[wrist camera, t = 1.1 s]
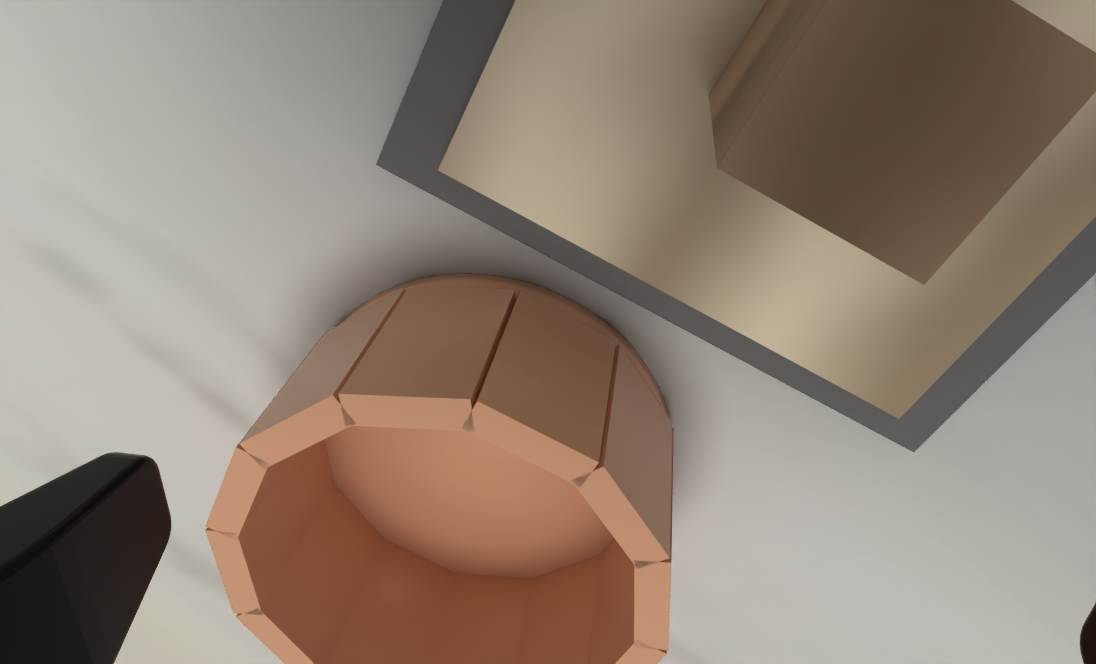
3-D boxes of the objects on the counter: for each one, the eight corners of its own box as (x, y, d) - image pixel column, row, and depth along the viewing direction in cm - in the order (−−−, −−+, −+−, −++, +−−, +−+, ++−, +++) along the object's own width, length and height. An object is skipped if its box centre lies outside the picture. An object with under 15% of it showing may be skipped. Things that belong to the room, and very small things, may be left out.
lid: (1367, -100, 15) (1720, -86, 10) (892, 401, 21) (956, 564, 16) (757, -517, 13) (802, -754, 8) (446, 159, 20) (366, 257, 15)
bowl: (748, 391, 22) (768, 548, 17) (563, 617, 28) (536, 788, 23) (387, 199, 21) (290, 306, 16) (268, 476, 26) (167, 623, 21)
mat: (1467, -114, 15) (1485, -113, 14) (910, 443, 22) (913, 452, 22) (711, -641, 13) (712, -654, 13) (381, 159, 20) (376, 164, 20)
